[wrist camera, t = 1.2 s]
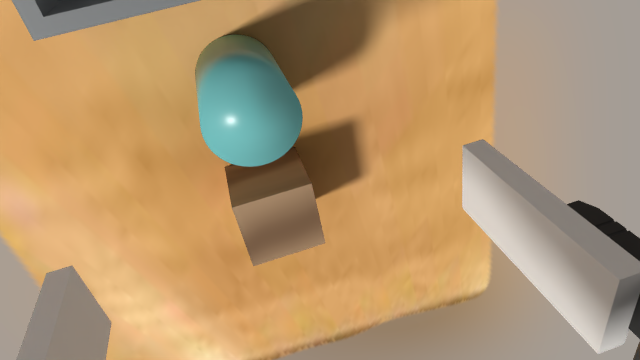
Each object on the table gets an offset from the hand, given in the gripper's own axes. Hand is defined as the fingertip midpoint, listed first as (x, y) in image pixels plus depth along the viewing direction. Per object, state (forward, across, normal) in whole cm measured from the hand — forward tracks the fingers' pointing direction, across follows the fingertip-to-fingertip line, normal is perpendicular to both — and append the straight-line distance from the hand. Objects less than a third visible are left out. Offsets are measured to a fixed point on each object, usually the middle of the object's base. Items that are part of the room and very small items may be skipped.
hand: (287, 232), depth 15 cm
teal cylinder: (+16, 0, 0) cm, 16 cm away
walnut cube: (+16, 0, -8) cm, 18 cm away
